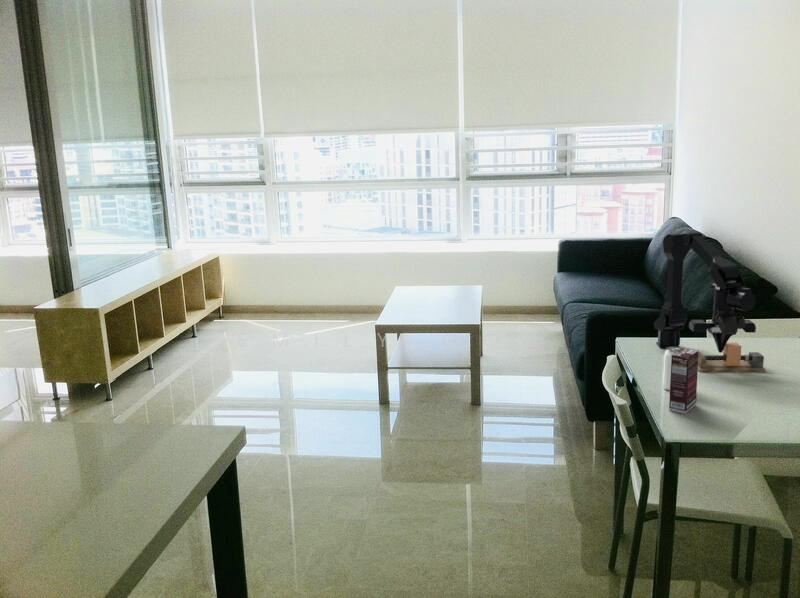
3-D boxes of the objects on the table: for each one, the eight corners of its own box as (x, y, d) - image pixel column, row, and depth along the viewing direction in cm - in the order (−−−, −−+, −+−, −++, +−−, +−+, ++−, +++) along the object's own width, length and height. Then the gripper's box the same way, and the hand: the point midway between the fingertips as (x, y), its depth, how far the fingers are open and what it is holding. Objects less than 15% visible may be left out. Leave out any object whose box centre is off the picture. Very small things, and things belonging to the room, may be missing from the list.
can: (682, 384, 224) (685, 346, 222) (688, 392, 218) (691, 352, 215) (660, 384, 225) (662, 346, 222) (665, 392, 219) (667, 352, 216)
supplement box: (678, 401, 211) (682, 347, 207) (696, 405, 208) (700, 350, 204) (667, 410, 204) (670, 354, 201) (685, 414, 201) (689, 357, 198)
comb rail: (699, 371, 235) (700, 358, 234) (690, 363, 244) (691, 350, 243) (765, 372, 233) (766, 358, 232) (754, 363, 242) (756, 350, 241)
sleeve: (726, 365, 236) (728, 346, 235) (722, 361, 241) (723, 342, 239) (740, 365, 236) (741, 346, 235) (735, 361, 240) (736, 342, 239)
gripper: (700, 310, 228) (696, 359, 231) (764, 310, 226) (760, 360, 229) (689, 302, 238) (687, 349, 242) (751, 302, 236) (747, 349, 240)
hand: (720, 352), depth 238 cm, fingers closed
